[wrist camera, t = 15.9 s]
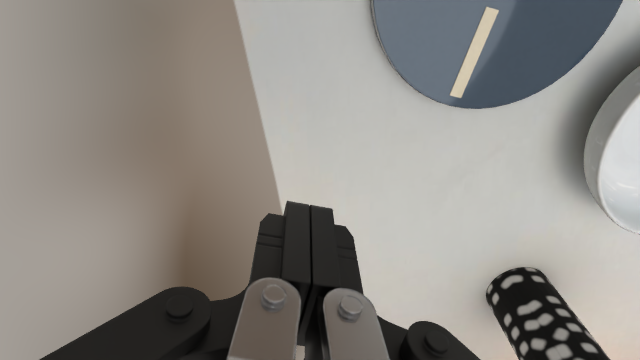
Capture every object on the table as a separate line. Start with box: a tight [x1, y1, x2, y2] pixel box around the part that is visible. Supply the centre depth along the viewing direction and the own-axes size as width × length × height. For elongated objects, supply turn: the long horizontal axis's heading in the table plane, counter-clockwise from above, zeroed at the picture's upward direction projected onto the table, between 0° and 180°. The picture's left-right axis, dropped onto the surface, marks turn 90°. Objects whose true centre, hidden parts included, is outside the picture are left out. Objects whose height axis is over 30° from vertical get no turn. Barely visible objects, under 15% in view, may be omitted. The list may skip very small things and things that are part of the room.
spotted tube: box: [486, 268, 610, 360], centre depth 44 cm, size 8×8×20 cm
